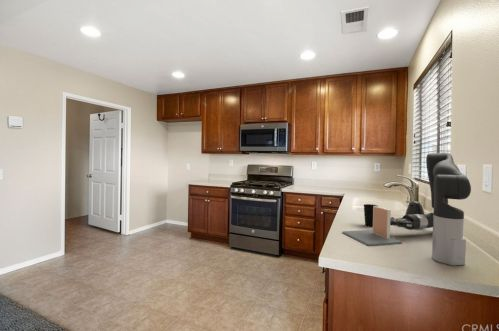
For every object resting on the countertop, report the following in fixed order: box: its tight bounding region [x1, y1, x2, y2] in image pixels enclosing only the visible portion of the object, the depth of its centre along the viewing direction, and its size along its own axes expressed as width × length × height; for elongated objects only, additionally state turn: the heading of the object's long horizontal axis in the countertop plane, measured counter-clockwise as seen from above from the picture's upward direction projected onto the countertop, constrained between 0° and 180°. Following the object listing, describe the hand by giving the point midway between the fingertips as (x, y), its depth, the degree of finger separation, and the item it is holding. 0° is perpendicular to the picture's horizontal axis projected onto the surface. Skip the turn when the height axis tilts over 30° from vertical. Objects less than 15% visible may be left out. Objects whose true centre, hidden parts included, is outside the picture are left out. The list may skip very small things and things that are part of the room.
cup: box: [363, 203, 378, 228], centre depth 147 cm, size 8×8×12 cm
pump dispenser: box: [404, 200, 425, 215], centre depth 146 cm, size 10×10×15 cm
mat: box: [341, 229, 403, 247], centre depth 124 cm, size 20×18×1 cm
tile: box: [372, 205, 392, 239], centre depth 126 cm, size 10×2×14 cm, turn 13°
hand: (386, 223), depth 126 cm, fingers closed
